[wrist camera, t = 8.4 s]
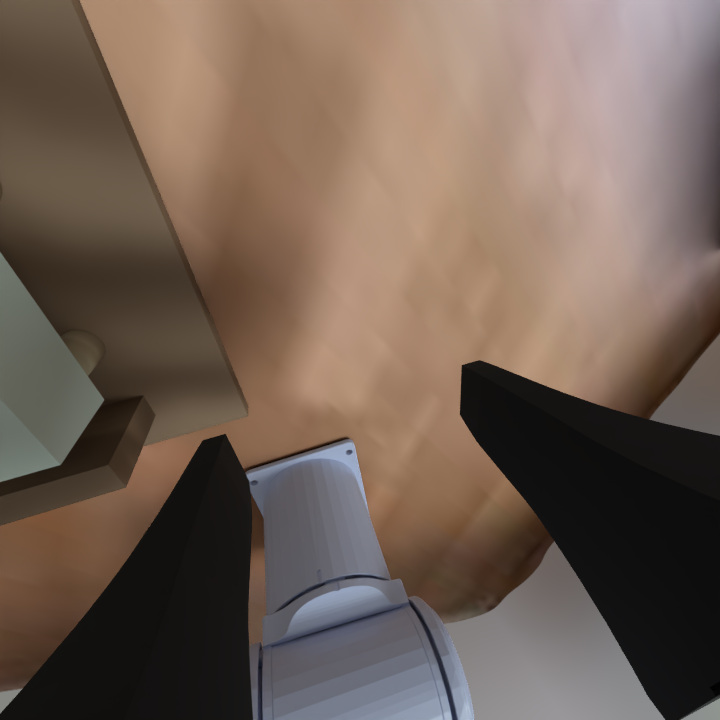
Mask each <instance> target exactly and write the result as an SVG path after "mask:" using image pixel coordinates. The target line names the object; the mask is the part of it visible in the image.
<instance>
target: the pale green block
mask: <svg viewBox="0 0 720 720" xmlns="http://www.w3.org/2000/svg"><path fill="white" fill-rule="evenodd" d="M103 401H104V399H103V397H102V396H101V394H100V393H99V391H98V390H97V389H96V387H95V386H94V384H93V383H92V382H91V380H90V379H89V377H88V376H87V374H86V373H85V372H84V370H83V369H82V367H81V366H80V365H79V363H78V362H77V360H76V359H75V357H74V356H73V355H72V353H71V352H70V350H69V349H68V347H67V346H66V345H65V343H64V342H63V340H62V339H61V338H60V336H59V335H58V333H57V332H56V330H55V329H54V328H53V326H52V325H51V323H50V322H49V321H48V319H47V318H46V316H45V315H44V313H43V312H42V311H41V309H40V308H39V306H38V305H37V304H36V302H35V301H34V299H33V298H32V296H31V295H30V294H29V292H28V291H27V289H26V288H25V286H24V285H23V284H22V282H21V281H20V279H19V278H18V277H17V275H16V274H15V272H14V271H13V269H12V268H11V267H10V265H9V264H8V262H7V261H6V260H5V258H4V257H3V255H2V254H1V252H0V482H2V481H6V480H9V479H13V478H16V477H20V476H23V475H27V474H30V473H34V472H37V471H41V470H44V469H48V468H51V467H55V466H58V465H61V464H62V462H63V461H64V459H65V458H66V456H67V455H68V453H69V452H70V450H71V449H72V447H73V446H74V444H75V443H76V441H77V440H78V438H79V437H80V435H81V434H82V432H83V431H84V429H85V428H86V426H87V425H88V423H89V422H90V421H91V419H92V418H93V416H94V415H95V413H96V412H97V410H98V409H99V407H100V406H101V404H102V403H103Z"/></svg>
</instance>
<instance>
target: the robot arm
mask: <svg viewBox="0 0 720 720" xmlns="http://www.w3.org/2000/svg"><path fill="white" fill-rule="evenodd" d="M460 415H461V417H462V419H463V420H464V422H465V424H466V425H467V427H468V429H469V430H470V432H471V433H472V435H473V436H474V438H475V439H476V441H477V442H478V443H479V445H480V446H481V447H482V448H483V450H484V451H485V452H486V453H487V455H488V456H489V457H490V458H491V459H492V461H493V462H494V463H495V464H496V466H497V467H498V468H499V469H500V470H501V472H502V473H503V474H504V475H505V476H506V478H507V479H508V480H509V481H510V482H511V484H512V485H513V486H514V487H515V488H516V490H517V491H518V492H519V493H520V494H521V496H522V497H523V498H524V499H525V500H526V502H527V503H528V504H529V506H530V507H531V508H532V509H533V511H534V512H535V513H536V515H537V516H538V518H539V519H540V521H541V522H542V523H543V525H544V526H545V528H546V529H547V531H548V532H549V534H550V535H551V537H552V538H553V539H554V541H555V542H556V544H557V545H558V547H559V548H560V550H561V551H562V553H563V554H564V556H565V558H566V559H567V561H568V562H569V564H570V565H571V567H572V568H573V570H574V571H575V573H576V574H577V576H578V578H579V579H580V581H581V582H582V584H583V586H584V587H585V589H586V590H587V592H588V594H589V595H590V597H591V599H592V600H593V602H594V603H595V605H596V607H597V608H598V610H599V612H600V613H601V615H602V616H603V618H604V619H605V621H606V622H607V625H608V626H609V628H610V630H611V632H612V633H613V635H614V637H615V639H616V640H617V642H618V643H619V646H620V647H621V649H622V651H623V652H624V654H625V656H626V658H627V659H628V661H629V663H630V665H631V666H632V668H633V670H634V672H635V673H636V675H637V677H638V679H639V681H640V682H641V684H642V686H643V688H644V690H645V692H646V694H647V695H648V697H649V698H650V700H651V701H652V702H653V703H654V705H655V706H656V708H657V709H658V710H659V712H660V713H661V714H662V716H663V717H664V718H665V720H681V719H683V718H684V717H686V716H688V715H690V714H691V713H693V712H695V711H697V710H699V709H701V708H703V707H704V706H706V705H708V704H710V703H712V702H714V701H715V700H717V699H719V698H720V436H718V435H712V434H708V433H703V432H699V431H694V430H690V429H685V428H681V427H677V426H672V425H668V424H664V423H660V422H656V421H652V420H648V419H644V418H641V417H637V416H634V415H630V414H627V413H623V412H620V411H616V410H613V409H610V408H606V407H603V406H600V405H597V404H594V403H591V402H588V401H585V400H582V399H580V398H577V397H574V396H571V395H568V394H565V393H563V392H560V391H557V390H555V389H552V388H549V387H547V386H544V385H542V384H539V383H537V382H534V381H532V380H529V379H527V378H524V377H522V376H519V375H517V374H514V373H512V372H509V371H507V370H504V369H502V368H499V367H497V366H494V365H492V364H489V363H486V362H483V361H480V360H479V361H475V362H472V363H468V364H465V365H462V375H461V401H460ZM348 450H350V451H348ZM254 480H256V481H254ZM250 492H251V494H252V496H253V498H254V500H255V502H256V504H257V506H258V508H259V510H260V512H261V514H262V516H263V518H264V548H265V582H266V616H264V617H263V619H262V624H263V649H262V645H261V642H258V643H255V644H252V645H250V646H249V633H248V600H249V579H250V557H251V534H252V507H251V494H250ZM0 720H474V712H473V706H472V701H471V696H470V692H469V688H468V684H467V681H466V677H465V674H464V671H463V668H462V665H461V662H460V659H459V657H458V654H457V651H456V649H455V646H454V644H453V642H452V640H451V638H450V636H449V633H448V631H447V629H446V627H445V626H444V624H443V622H442V621H441V619H440V618H439V616H438V615H437V614H436V612H435V611H434V610H433V609H432V608H431V607H429V606H428V605H427V604H426V603H425V602H424V601H423V600H422V599H421V598H419V597H417V596H412V597H407V595H406V592H405V589H404V586H403V584H402V581H401V579H395V580H391V578H390V575H389V572H388V569H387V566H386V563H385V560H384V557H383V554H382V552H381V549H380V546H379V543H378V540H377V537H376V534H375V531H374V528H373V525H372V522H371V519H370V516H369V511H368V506H367V501H366V497H365V492H364V487H363V483H362V478H361V473H360V469H359V464H358V459H357V455H356V450H355V445H354V443H353V441H352V440H351V439H346V440H343V441H340V442H337V443H333V444H330V445H327V446H324V447H321V448H317V449H314V450H311V451H308V452H305V453H302V454H298V455H295V456H292V457H289V458H286V459H282V460H279V461H276V462H273V463H270V464H267V465H263V466H260V467H257V468H254V469H251V470H248V471H247V472H244V470H243V468H242V466H241V464H240V462H239V460H238V458H237V456H236V454H235V452H234V450H233V448H232V446H231V444H230V442H229V440H228V438H227V436H226V434H224V435H220V436H217V437H213V438H210V439H206V440H203V441H202V443H201V444H200V446H199V447H198V449H197V451H196V452H195V454H194V456H193V457H192V459H191V461H190V462H189V464H188V466H187V467H186V469H185V471H184V473H183V474H182V476H181V478H180V479H179V481H178V483H177V484H176V486H175V488H174V489H173V491H172V492H171V494H170V496H169V497H168V499H167V500H166V502H165V504H164V505H163V507H162V508H161V510H160V512H159V513H158V515H157V516H156V518H155V519H154V521H153V523H152V524H151V526H150V527H149V528H148V530H147V531H146V533H145V534H144V536H143V537H142V539H141V540H140V542H139V543H138V545H137V546H136V548H135V549H134V551H133V552H132V553H131V555H130V556H129V558H128V559H127V561H126V562H125V563H124V565H123V566H122V568H121V569H120V570H119V572H118V573H117V574H116V576H115V577H114V578H113V580H112V581H111V582H110V584H109V585H108V586H107V588H106V589H105V590H104V591H103V593H102V594H101V595H100V597H99V598H98V599H97V600H96V602H95V603H94V604H93V606H92V607H91V608H90V609H89V611H88V612H87V613H86V614H85V616H84V617H83V618H82V619H81V621H80V622H79V623H78V624H77V626H76V627H75V628H74V629H73V630H72V631H71V633H70V634H69V635H68V636H67V637H66V639H65V640H64V641H63V642H62V643H61V644H60V646H59V647H58V648H57V649H56V650H55V651H54V653H53V654H52V655H51V656H50V657H49V658H48V660H47V661H46V662H45V663H44V664H43V666H42V667H41V668H40V669H39V670H38V671H37V673H36V674H35V675H34V676H33V677H32V678H31V680H30V681H29V682H28V683H27V684H26V686H25V687H24V688H23V689H22V690H21V691H20V693H18V695H17V696H16V697H15V698H14V699H13V700H12V701H11V703H10V704H9V705H8V706H7V707H6V708H5V709H4V710H3V711H2V713H1V714H0Z"/></svg>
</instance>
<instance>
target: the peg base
mask: <svg viewBox="0 0 720 720" xmlns="http://www.w3.org/2000/svg"><path fill="white" fill-rule="evenodd" d="M0 252H1V254H2V255H3V257H4V258H5V260H6V261H7V262H8V264H9V265H10V267H11V268H12V269H13V271H14V272H15V274H16V275H17V277H18V278H19V279H20V281H21V282H22V284H23V285H24V286H25V288H26V289H27V291H28V292H29V294H30V295H31V296H32V298H33V299H34V301H35V302H36V304H37V305H38V306H39V308H40V309H41V311H42V312H43V313H44V315H45V316H46V318H47V319H48V321H49V322H50V323H51V325H52V326H53V328H54V329H55V330H56V332H57V333H58V335H59V336H60V338H61V339H62V340H63V342H64V343H65V345H66V346H67V347H68V349H69V350H70V352H71V353H72V355H73V356H74V357H75V359H76V360H77V362H78V363H79V365H80V366H81V367H82V369H83V370H84V372H85V373H86V374H87V376H88V377H89V379H90V380H91V382H92V383H93V384H94V386H95V387H96V389H97V390H98V391H99V393H100V394H101V396H102V397H103V399H104V401H103V403H102V404H101V406H100V407H99V409H98V410H97V412H96V413H95V415H94V416H93V418H92V419H91V421H90V422H89V423H88V425H87V426H86V428H85V429H84V431H83V432H82V434H81V435H80V437H79V438H78V440H77V441H76V443H75V444H74V446H73V447H72V449H71V450H70V452H69V453H68V455H67V456H66V458H65V459H64V461H63V462H62V464H61V465H58V466H55V467H51V468H48V469H44V470H41V471H37V472H34V473H30V474H27V475H23V476H20V477H16V478H13V479H9V480H6V481H2V482H0V526H1V525H4V524H7V523H11V522H14V521H17V520H20V519H24V518H27V517H30V516H33V515H37V514H40V513H43V512H47V511H50V510H53V509H56V508H60V507H63V506H66V505H70V504H73V503H76V502H79V501H83V500H86V499H89V498H93V497H96V496H99V495H102V494H106V493H109V492H112V491H116V490H119V489H122V488H125V487H126V486H127V484H128V481H129V479H130V477H131V474H132V472H133V469H134V467H135V464H136V462H137V460H138V457H139V455H140V452H141V450H142V447H143V446H146V445H149V444H153V443H156V442H160V441H163V440H167V439H170V438H174V437H177V436H181V435H184V434H188V433H191V432H195V431H198V430H202V429H205V428H209V427H212V426H216V425H219V424H223V423H226V422H230V421H233V420H236V419H240V418H243V417H247V416H248V404H247V402H246V400H245V397H244V395H243V392H242V390H241V388H240V385H239V383H238V380H237V378H236V376H235V373H234V371H233V368H232V366H231V364H230V361H229V359H228V356H227V354H226V352H225V349H224V347H223V344H222V342H221V340H220V337H219V335H218V332H217V330H216V328H215V325H214V323H213V320H212V318H211V316H210V313H209V311H208V308H207V306H206V304H205V301H204V299H203V296H202V294H201V292H200V289H199V287H198V284H197V282H196V280H195V277H194V275H193V272H192V270H191V268H190V265H189V263H188V260H187V258H186V256H185V253H184V251H183V248H182V246H181V244H180V241H179V239H178V236H177V234H176V232H175V229H174V227H173V224H172V222H171V220H170V217H169V215H168V212H167V210H166V207H165V205H164V203H163V200H162V198H161V195H160V193H159V191H158V188H157V186H156V183H155V181H154V179H153V176H152V174H151V171H150V169H149V167H148V164H147V162H146V159H145V157H144V155H143V152H142V150H141V147H140V145H139V143H138V140H137V138H136V135H135V133H134V131H133V128H132V126H131V123H130V121H129V119H128V116H127V114H126V111H125V109H124V107H123V104H122V102H121V99H120V97H119V95H118V92H117V90H116V87H115V85H114V83H113V80H112V78H111V75H110V73H109V71H108V68H107V66H106V63H105V61H104V59H103V56H102V54H101V51H100V49H99V47H98V44H97V42H96V39H95V37H94V35H93V32H92V30H91V27H90V25H89V23H88V20H87V18H86V15H85V13H84V11H83V8H82V6H81V3H80V1H79V0H0Z"/></svg>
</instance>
